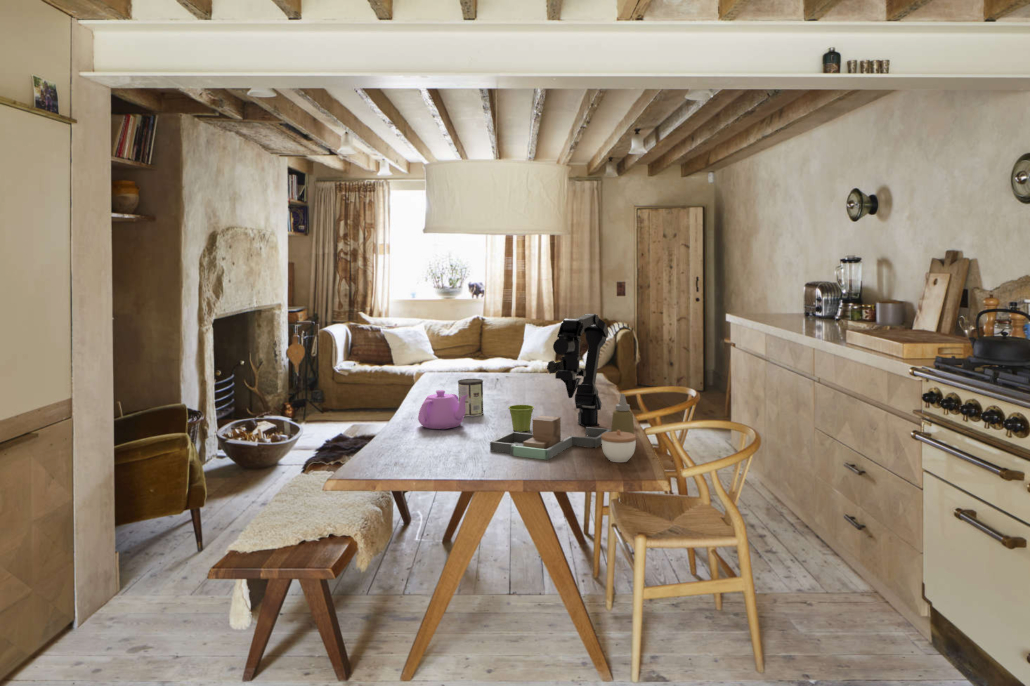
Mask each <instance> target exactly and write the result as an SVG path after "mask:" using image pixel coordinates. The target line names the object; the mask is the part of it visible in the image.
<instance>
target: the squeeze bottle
mask: <svg viewBox="0 0 1030 686" xmlns="http://www.w3.org/2000/svg"><path fill="white" fill-rule="evenodd" d="M626 398H627V397H626V393H620V397H619V400H618V401H619V402H618V403H616V404H615V410H614V411H613V412H612V418H611V428H610V429H611V432H617V430H620V432H629V433H632V434H635V426H634V425H635V423H634V416H633V415H634V414H633V412H632V410H631V409H630V408H631V405H630V404H628V403H627V399H626Z"/></svg>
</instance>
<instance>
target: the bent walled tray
mask: <svg viewBox="0 0 1030 686" xmlns="http://www.w3.org/2000/svg"><path fill="white" fill-rule="evenodd" d="M606 432H611V428H604V427H603V428H602V427H594V426H585V436H577V435H576V436H575V435H570V436H568V437H566V438H564V439H562V440H561V441H560V442H559V443H557V444H555V445H553V446H551V447H550V448H548V449H540V448H531V447H523V442H524V441H526V440H528V439H530V438H532V437H533V433H525V432H517V431H511V432H509V433H507V434H505V435H502V436H501V437H498V438H496V439H494V440H491V441H490V442H489V449H490V450H489V451H490V452H495V451H498V452H497V453H503V452H505V454H510V456H514V457H520V458H521V457H522V458H531V459H539V460H547V461H549V460H550V459H552V458H553V456H554V457H555V456H557V455H559V454H560V453H562V452H564V451H565V450H567V449H569V448H571V447H572V446H573V445H578V446H577V447H582V446H586V447H585V448H590V447H595V448H594V449H597V448H599V447H600V446H602V445H601V444H602V442H601V440H602V439H601V435H602V434H603V433H606ZM586 435H588V436H586ZM571 445H572V446H571ZM599 445H600V446H599ZM570 446H571V447H570ZM598 446H599V447H598ZM568 447H569V448H568ZM596 447H597V448H596ZM566 448H567V449H566ZM563 450H564V451H563ZM558 453H559V454H558ZM548 459H549V460H548Z"/></svg>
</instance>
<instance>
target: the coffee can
mask: <svg viewBox="0 0 1030 686" xmlns="http://www.w3.org/2000/svg"><path fill="white" fill-rule="evenodd" d="M483 382H484V380H483V379H481V378H463V379H459V380H457V383H458V386H457V387H458V388H457V389H458V390H457V391H458V400H459V401H458V402H460V398H461V397H462V396H465V395H468V396H467V397H466V399H465V408H466V412H465V415H464V417H467V416H473V417H480V416H483V415H484V414H483V413H484V383H483ZM482 414H483V415H482ZM479 415H480V416H479Z"/></svg>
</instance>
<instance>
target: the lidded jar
mask: <svg viewBox="0 0 1030 686" xmlns="http://www.w3.org/2000/svg"><path fill="white" fill-rule="evenodd" d="M601 439H602V440H601V442H602V445H601V448H602V452H603V454H604V456H605V457H606V459H608V461H609V460H610V461H609V462H612V463H626V462H628V461H629V460H630V459H631V458H632V457H633V455H634V453H635V451H636V444H637V443H636V441H637V435H636V434H635V433H634V434H632V433H629V432H620V430H617V432H606V433H603V434H602V435H601Z"/></svg>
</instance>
